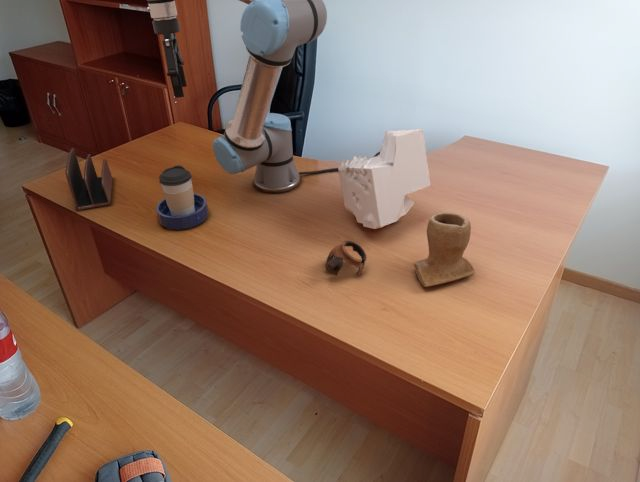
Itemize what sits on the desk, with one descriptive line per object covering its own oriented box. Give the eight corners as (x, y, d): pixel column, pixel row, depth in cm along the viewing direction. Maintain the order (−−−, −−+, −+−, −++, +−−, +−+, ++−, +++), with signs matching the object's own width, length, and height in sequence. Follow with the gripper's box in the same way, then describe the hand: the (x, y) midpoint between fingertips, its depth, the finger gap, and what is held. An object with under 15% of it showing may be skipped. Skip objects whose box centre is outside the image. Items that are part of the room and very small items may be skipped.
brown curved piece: (333, 255, 130) (349, 233, 125) (359, 279, 127) (376, 258, 123) (309, 269, 120) (325, 246, 115) (336, 295, 118) (354, 273, 113)
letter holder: (77, 211, 152) (62, 170, 144) (82, 183, 167) (69, 144, 159) (110, 205, 154) (98, 164, 146) (112, 178, 170) (101, 140, 162)
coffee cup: (191, 224, 142) (181, 179, 133) (162, 222, 144) (151, 176, 135) (203, 209, 149) (195, 164, 141) (176, 206, 151) (166, 162, 142)
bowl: (211, 204, 153) (209, 191, 150) (204, 229, 141) (202, 216, 138) (165, 206, 152) (162, 193, 150) (154, 232, 140) (150, 218, 138)
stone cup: (453, 252, 128) (461, 202, 120) (479, 278, 119) (490, 227, 110) (401, 264, 124) (405, 214, 116) (424, 293, 115) (431, 241, 107)
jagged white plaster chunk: (379, 239, 129) (362, 146, 122) (346, 231, 143) (329, 147, 135) (435, 217, 138) (423, 129, 131) (399, 211, 152) (386, 131, 144)
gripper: (156, 15, 152) (172, 84, 163) (146, 24, 131) (165, 103, 142) (180, 12, 153) (195, 81, 164) (174, 21, 132) (191, 100, 143)
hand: (181, 91), depth 153 cm, fingers open, 13 cm apart
